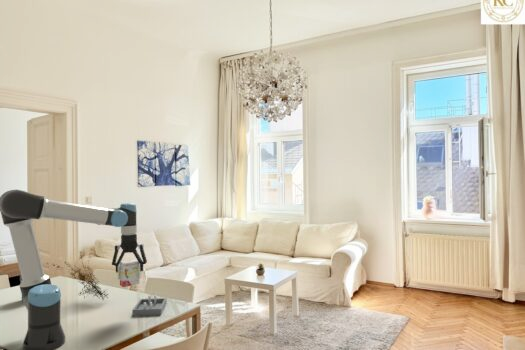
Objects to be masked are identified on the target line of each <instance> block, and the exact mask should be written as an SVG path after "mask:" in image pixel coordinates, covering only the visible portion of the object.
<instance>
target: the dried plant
mask: <svg viewBox="0 0 525 350" xmlns="http://www.w3.org/2000/svg"><path fill="white" fill-rule="evenodd" d="M92 250H94V249H93V248H90V250H89V251H90V252H89V256H88V261H87V263H89V262H90V261H89V260H90V258H92V257H93V256H90V255H91V254H93V253H92V252H91V251H92ZM79 253H80V254H82V251H79ZM84 256H85V255H84V254H82V255H80V260H83V259H84ZM51 263H52V262H51ZM81 263H82V268H84V269H85V271H84V272H85V273H84V272H82V271H83V270H82V268H80V267H77V266H76V265H74V268H76V269H74V268H73V264H71V263H70V262H65V264H66V266H67V270H69V271H67V273H70V275H72V276H71V277H72V279H74V280H75V279H76V280H79V282H81V284H82V286H83V288H82V289H81V291H79V295H83V296H84V297H83V299H85V298H86V296H85V295H91V296H92V295H93V297H98V296H99V298H101V300H102V301H104V299H105V298H107V299H109V297H108V296H109V293H108V292H109V290H108V288H107V289H103V291H102V287H100V286H99V283H100V281H98V278H97V277H96V276H95V274H94V273H93V269H92V268H91V267H90V266H85V265H84V263H83V261H81ZM45 264H46V266H48V265H49V264H50V263H49V262H47V263H45ZM51 265H52V267H53V266H54V267H55V266H56V268H57V269H58V268H61V269H63V267H62V266H59V265H58V264H54V263H52V264H51ZM69 267H70V268H69ZM70 269H71V270H72V272H70ZM76 274H78V275H77V276H76ZM106 290H107V291H106Z"/></svg>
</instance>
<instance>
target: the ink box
mask: <svg viewBox="0 0 525 350" xmlns="http://www.w3.org/2000/svg"><path fill="white" fill-rule="evenodd" d="M119 265H120V279H119V286H120V287H123V288H126V287H131V286H136V285H137V286H138V285H140V281H141V280H140V279H139V267H138V266H139V265H140V264H139V262H138V260H137V259H130V260H123V261H122V260H121V262H120V264H119Z"/></svg>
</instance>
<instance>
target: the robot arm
mask: <svg viewBox="0 0 525 350" xmlns="http://www.w3.org/2000/svg"><path fill="white" fill-rule="evenodd" d="M137 212H138V211H137V205H136V204H135V203H133V202H130V203H129V202H126V203H121V204H120V206H119V207H116V208H114V207H113V208H107V207H99V206H94V205H93V206H92V205H85V204H79V203H73V202H67V201H62V200H61V201H60V200H54V199H47V198H46V197H45V196H43V195H37V194H33V193H30V192H27V191H25V190H20V189H11V190H8V191H5V192H4V193H3V194H1V195H0V214H1V219H2V223H3V225H4V226H6V227H8V229H9V232H10V238H11V241H12V244H13V248H14V252H15V257H16V260H17V265H18V268H19V272H20V274H21V277H22V282H21V281H20V284H19V289H20V293H21V294H20V295H21V302H22V304H23V305H24V307H25V308H26V310H27V330H26V334H25V335H24V339H23V343H22V350H54V349H57V348H59V347H62V345H64V344H65V343H66V335H65V332H64V330H63V326H62V324H61V297H62V293H61V288H60V287H59V286H58V285H55V284H52V282H51V278H50V275H48V274H46V272H45V270H44V264H43V262H42V257H41V253H40V250H39V249H40V248H39V246H38V245H39V244H38V241H37V237H36V232H35V228H34V225H33V221H34V220H40V219H42V218H44V219H45V218H46V219H54V220H62V221H63V220H64V221H71V222H78V223H85V224H95V225H98V226H101V225H102V226H111V227H115V228H120V234H121V236H120V244H116V245H114V253H113V257H112V262H111V265H112V266H115V273H117V280H120V262H122V260H123V258H124V256H125V254H128V253H130V254H131V253H132V254H133V255H134V258H135V260H137V261H138V262H139V266H138V267H139V280H140V279H142V272H143V271H144V265H146V264H147V263H148V260H147V257H146V253H145V250H144V243H141V244H140V243H138V238H137V237H138V236H137V233H138V232H137V231H138V229H137ZM137 248H138V249H139V251H140V254H139V253H138V251H137ZM120 249H121V250H122V251H121V253H120V255H119V257H118V254H119V250H120ZM140 255H141V256H140ZM117 257H118V258H117ZM44 272H45V273H44Z"/></svg>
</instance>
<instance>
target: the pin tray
mask: <svg viewBox="0 0 525 350" xmlns="http://www.w3.org/2000/svg"><path fill="white" fill-rule="evenodd" d="M153 297H154V298H152V296H151V295H150V294H149V295H148V298H140V299H139V300H138V301H137V303H136V304H135V306H134V307H133V309H132V317H139V316H140V317H141V316H162V314H163V312H164V310H165V307H166V306H167V299H168V298H167V297H162V298H161V297H160V298H157V295H156V294H154V296H153Z"/></svg>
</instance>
